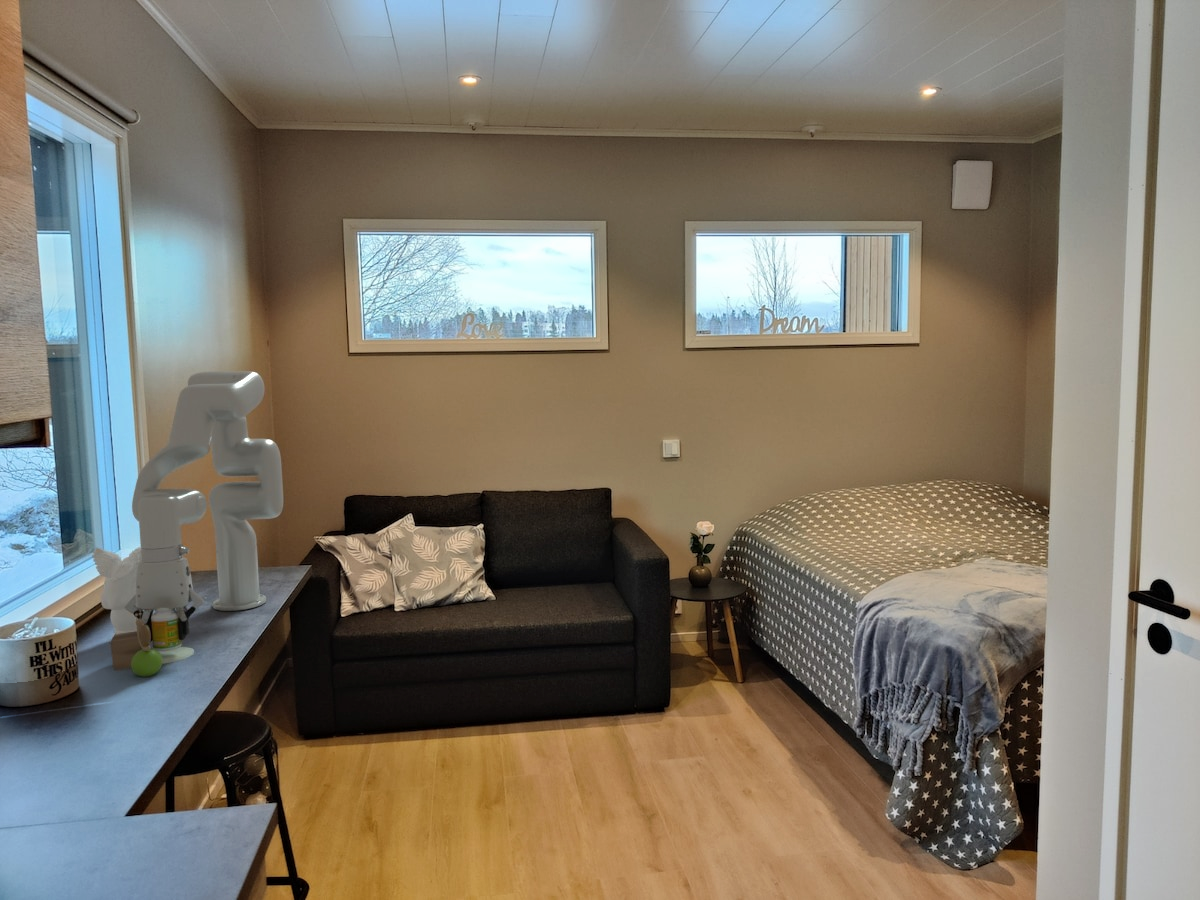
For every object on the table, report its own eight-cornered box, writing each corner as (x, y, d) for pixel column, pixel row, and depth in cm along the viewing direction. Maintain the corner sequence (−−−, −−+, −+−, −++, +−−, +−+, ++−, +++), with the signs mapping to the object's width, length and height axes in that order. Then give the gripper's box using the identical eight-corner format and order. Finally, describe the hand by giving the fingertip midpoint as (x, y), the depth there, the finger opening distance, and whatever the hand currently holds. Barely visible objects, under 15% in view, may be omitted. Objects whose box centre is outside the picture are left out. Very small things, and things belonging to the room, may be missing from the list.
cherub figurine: (157, 630, 193) (151, 536, 191) (166, 644, 183) (159, 545, 181) (96, 640, 186) (89, 544, 184) (102, 656, 176) (94, 553, 174)
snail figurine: (156, 667, 168) (152, 609, 167) (167, 675, 164) (163, 616, 163) (126, 674, 165) (122, 615, 163) (136, 683, 160) (132, 622, 159)
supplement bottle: (169, 652, 171) (167, 606, 170) (147, 651, 172) (144, 605, 171) (187, 644, 176) (185, 599, 175) (165, 642, 177) (162, 598, 176)
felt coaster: (150, 650, 179) (149, 648, 179) (199, 647, 180) (199, 645, 180) (133, 667, 169) (133, 665, 169) (186, 663, 171) (186, 661, 171)
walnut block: (118, 662, 171) (114, 634, 170) (145, 658, 173) (142, 630, 172) (113, 670, 166) (110, 642, 166) (141, 666, 168) (138, 637, 167)
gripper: (210, 548, 178) (215, 631, 179) (123, 552, 174) (129, 636, 176) (201, 555, 170) (206, 641, 172) (109, 560, 167) (115, 648, 169)
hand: (167, 638), depth 174 cm, fingers closed on supplement bottle, 5 cm apart
